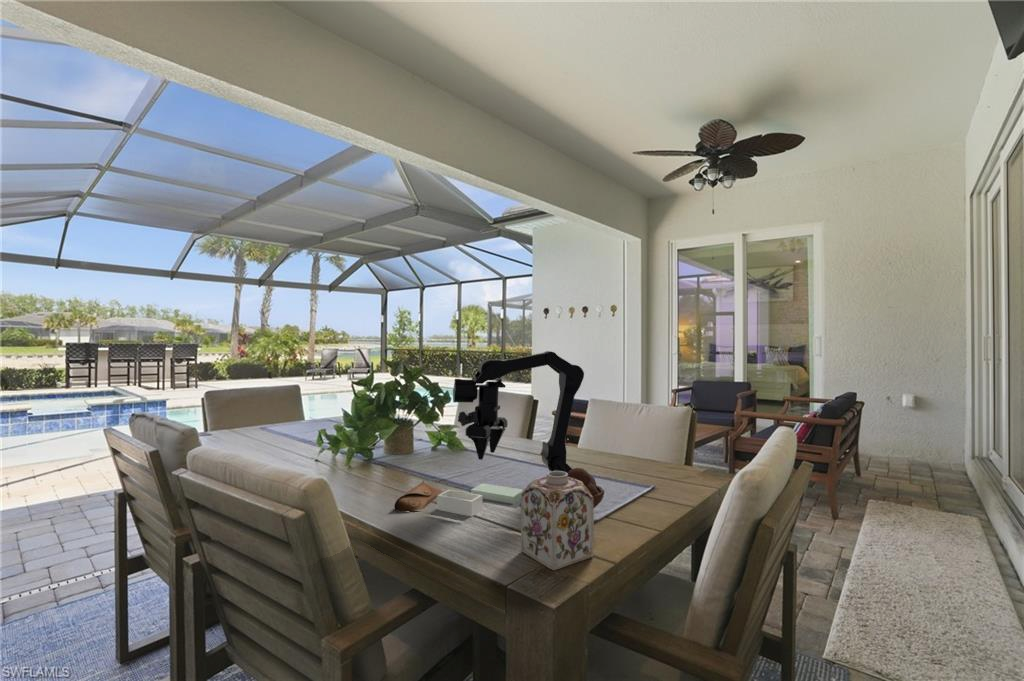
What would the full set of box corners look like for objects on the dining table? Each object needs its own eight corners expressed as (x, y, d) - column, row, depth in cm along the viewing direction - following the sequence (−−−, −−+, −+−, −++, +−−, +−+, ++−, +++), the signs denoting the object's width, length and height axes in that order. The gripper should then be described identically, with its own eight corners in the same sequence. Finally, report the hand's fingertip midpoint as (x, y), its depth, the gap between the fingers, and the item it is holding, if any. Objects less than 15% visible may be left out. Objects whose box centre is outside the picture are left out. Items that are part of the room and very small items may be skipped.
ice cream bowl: (604, 537, 116) (604, 474, 116) (557, 533, 118) (557, 472, 118) (604, 520, 127) (604, 463, 126) (561, 517, 129) (561, 460, 129)
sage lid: (523, 496, 143) (523, 489, 143) (513, 503, 137) (513, 496, 137) (482, 489, 150) (482, 483, 150) (471, 496, 144) (471, 489, 144)
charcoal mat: (533, 497, 145) (533, 495, 145) (515, 510, 134) (515, 507, 134) (481, 488, 153) (481, 486, 153) (460, 500, 142) (460, 497, 142)
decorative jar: (595, 557, 106) (595, 475, 106) (554, 573, 99) (554, 484, 99) (558, 538, 116) (559, 463, 115) (519, 551, 109) (519, 471, 109)
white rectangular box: (482, 511, 133) (482, 495, 133) (471, 518, 128) (471, 501, 128) (448, 505, 138) (448, 489, 138) (437, 511, 133) (437, 495, 133)
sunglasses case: (423, 513, 132) (411, 491, 132) (402, 524, 133) (390, 502, 134) (446, 492, 149) (435, 472, 150) (427, 502, 150) (417, 483, 151)
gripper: (475, 397, 154) (473, 446, 154) (449, 404, 136) (447, 460, 136) (508, 399, 150) (507, 450, 150) (486, 407, 133) (484, 464, 133)
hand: (486, 455), depth 143 cm, fingers open, 9 cm apart
